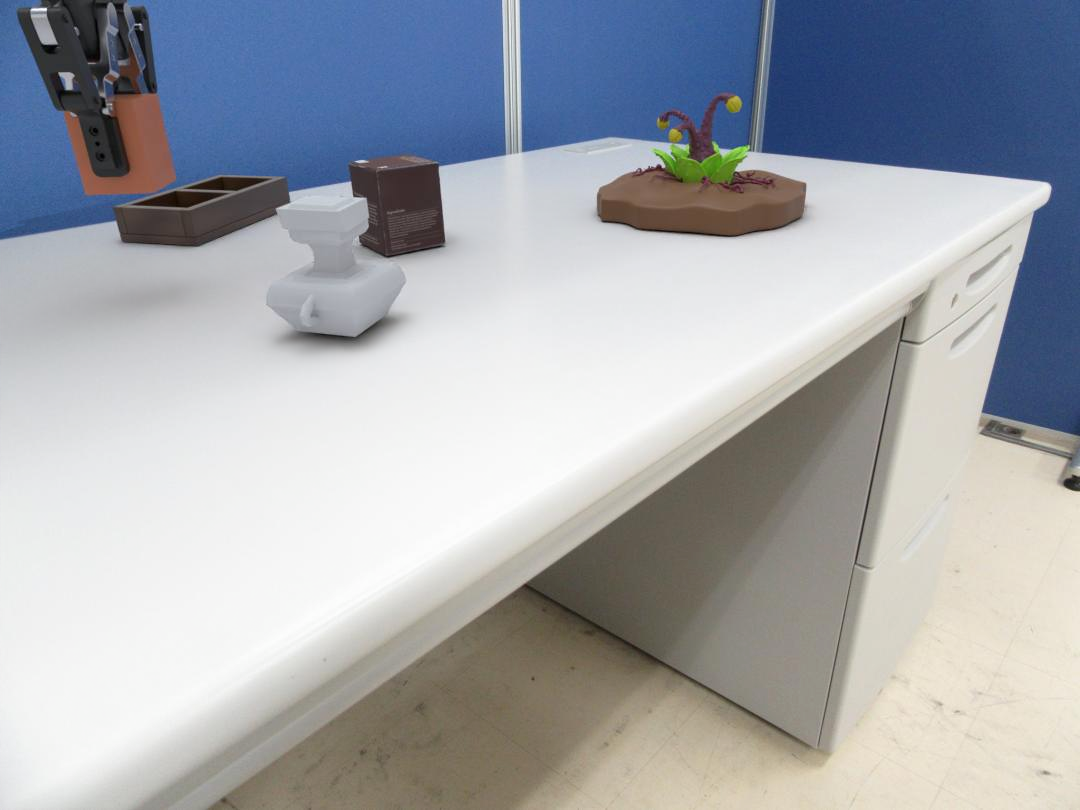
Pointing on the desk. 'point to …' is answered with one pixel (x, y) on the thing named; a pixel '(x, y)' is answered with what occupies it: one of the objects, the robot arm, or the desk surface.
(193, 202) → the tray
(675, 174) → the plant
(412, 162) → the box
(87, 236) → the desk surface
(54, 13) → the robot arm
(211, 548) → the desk surface
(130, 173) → the block
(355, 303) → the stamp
